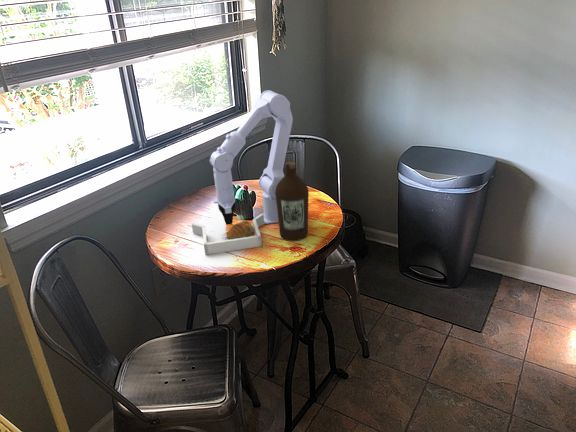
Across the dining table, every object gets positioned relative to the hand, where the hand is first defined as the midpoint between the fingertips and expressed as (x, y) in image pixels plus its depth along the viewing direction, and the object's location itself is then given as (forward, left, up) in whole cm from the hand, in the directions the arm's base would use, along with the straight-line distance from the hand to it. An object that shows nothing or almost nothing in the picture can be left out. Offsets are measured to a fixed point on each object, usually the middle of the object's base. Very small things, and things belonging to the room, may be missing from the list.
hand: (229, 223), depth 160 cm
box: (0, +6, -2) cm, 7 cm away
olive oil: (-20, +10, -3) cm, 23 cm away
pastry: (-3, +4, -3) cm, 6 cm away
